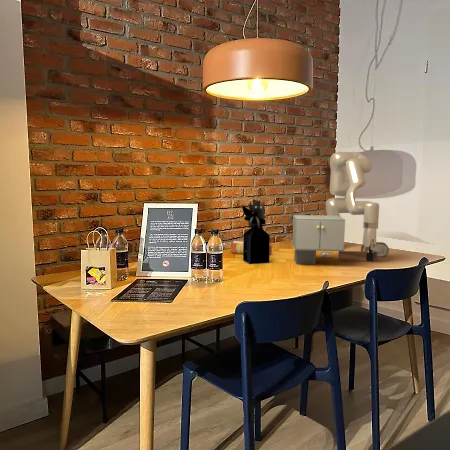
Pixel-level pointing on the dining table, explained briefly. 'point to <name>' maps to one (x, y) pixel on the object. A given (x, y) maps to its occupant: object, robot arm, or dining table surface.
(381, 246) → the tin
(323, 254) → the puck
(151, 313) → the dining table surface
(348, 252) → the brown rectangular bar
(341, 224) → the cabinet
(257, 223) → the vase
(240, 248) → the snack package
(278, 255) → the dining table surface
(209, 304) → the dining table surface
